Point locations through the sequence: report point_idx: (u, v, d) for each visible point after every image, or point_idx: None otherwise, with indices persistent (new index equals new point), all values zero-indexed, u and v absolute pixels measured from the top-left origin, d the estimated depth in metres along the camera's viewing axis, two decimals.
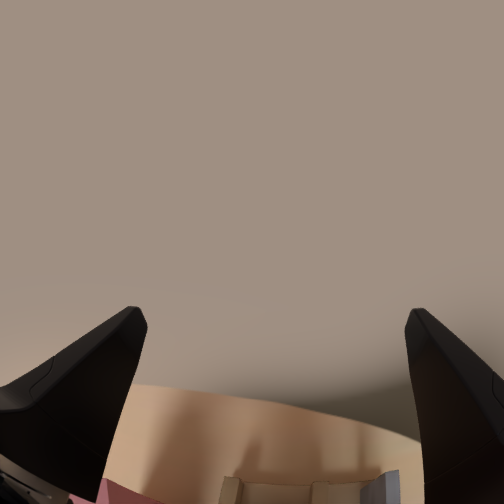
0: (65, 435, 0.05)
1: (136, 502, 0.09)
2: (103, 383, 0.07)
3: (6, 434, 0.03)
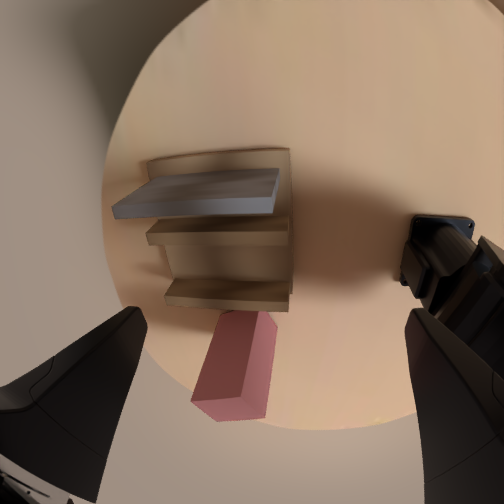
0: (65, 435, 0.05)
1: (208, 368, 0.20)
2: (103, 383, 0.07)
3: (6, 434, 0.03)
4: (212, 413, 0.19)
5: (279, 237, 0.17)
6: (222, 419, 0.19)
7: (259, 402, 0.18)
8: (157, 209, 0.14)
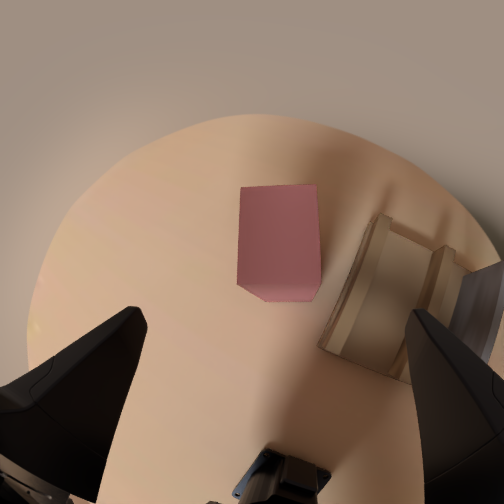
0: (65, 435, 0.05)
1: None
2: (103, 383, 0.07)
3: (6, 434, 0.03)
4: (272, 198, 0.12)
5: (408, 375, 0.15)
6: (247, 203, 0.12)
7: (265, 286, 0.12)
8: (500, 306, 0.11)
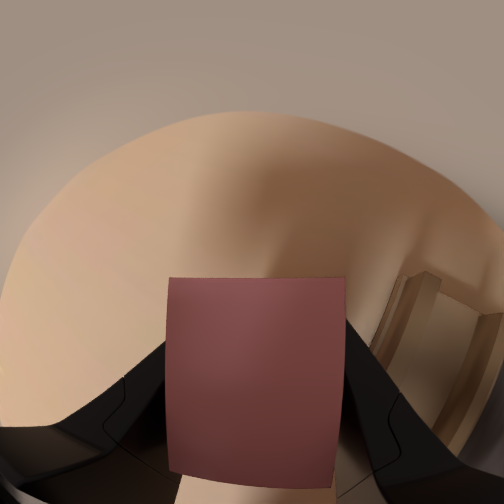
0: (145, 471, 0.04)
1: None
2: None
3: (84, 490, 0.02)
4: (236, 311, 0.05)
5: None
6: (181, 318, 0.05)
7: None
8: None
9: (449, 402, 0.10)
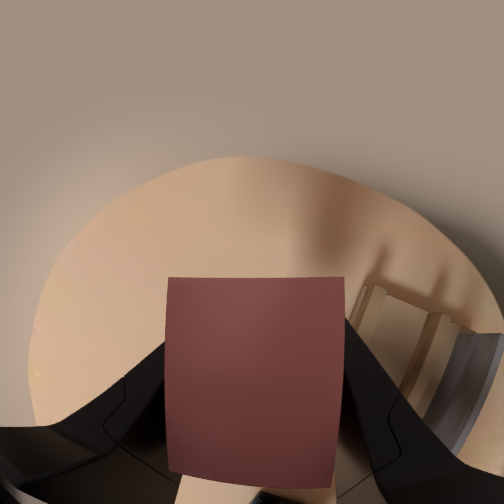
0: (145, 471, 0.04)
1: None
2: None
3: (84, 490, 0.02)
4: (235, 311, 0.05)
5: None
6: (180, 318, 0.05)
7: None
8: (489, 380, 0.10)
9: (405, 378, 0.17)
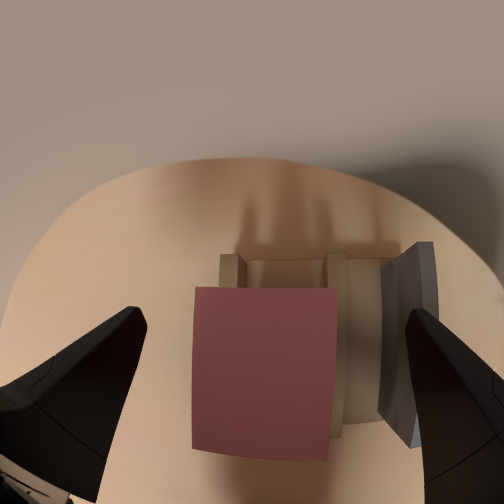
0: (65, 435, 0.05)
1: None
2: (103, 383, 0.07)
3: (6, 434, 0.03)
4: (251, 314, 0.07)
5: (333, 429, 0.12)
6: (206, 319, 0.07)
7: None
8: None
9: None
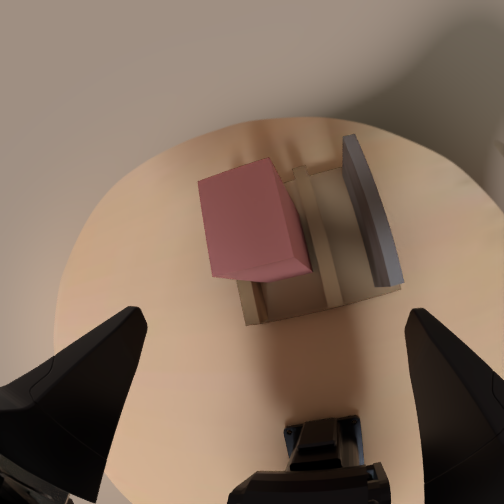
0: (65, 435, 0.05)
1: (286, 195, 0.14)
2: (103, 383, 0.07)
3: (6, 434, 0.03)
4: (228, 183, 0.12)
5: (335, 298, 0.17)
6: (206, 195, 0.12)
7: (243, 272, 0.12)
8: (367, 179, 0.14)
9: None
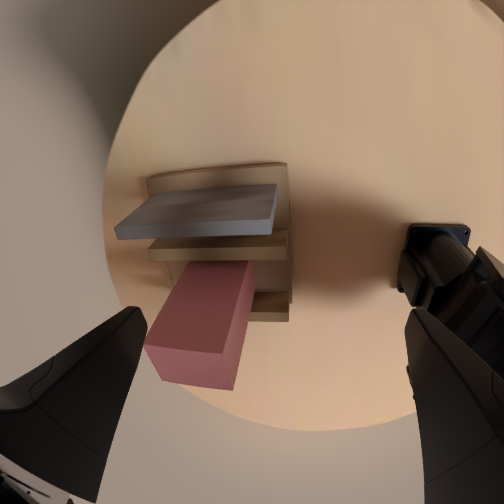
0: (65, 435, 0.05)
1: (173, 307, 0.16)
2: (103, 383, 0.07)
3: (6, 434, 0.03)
4: (163, 368, 0.14)
5: (278, 252, 0.18)
6: (172, 379, 0.15)
7: (232, 368, 0.14)
8: (159, 231, 0.14)
9: None
